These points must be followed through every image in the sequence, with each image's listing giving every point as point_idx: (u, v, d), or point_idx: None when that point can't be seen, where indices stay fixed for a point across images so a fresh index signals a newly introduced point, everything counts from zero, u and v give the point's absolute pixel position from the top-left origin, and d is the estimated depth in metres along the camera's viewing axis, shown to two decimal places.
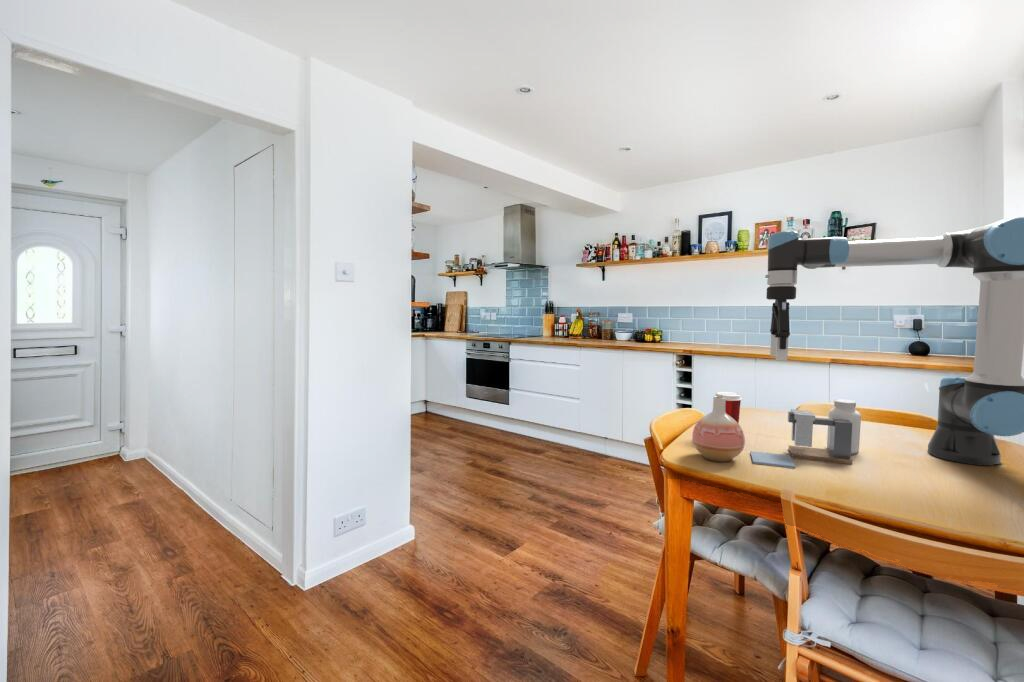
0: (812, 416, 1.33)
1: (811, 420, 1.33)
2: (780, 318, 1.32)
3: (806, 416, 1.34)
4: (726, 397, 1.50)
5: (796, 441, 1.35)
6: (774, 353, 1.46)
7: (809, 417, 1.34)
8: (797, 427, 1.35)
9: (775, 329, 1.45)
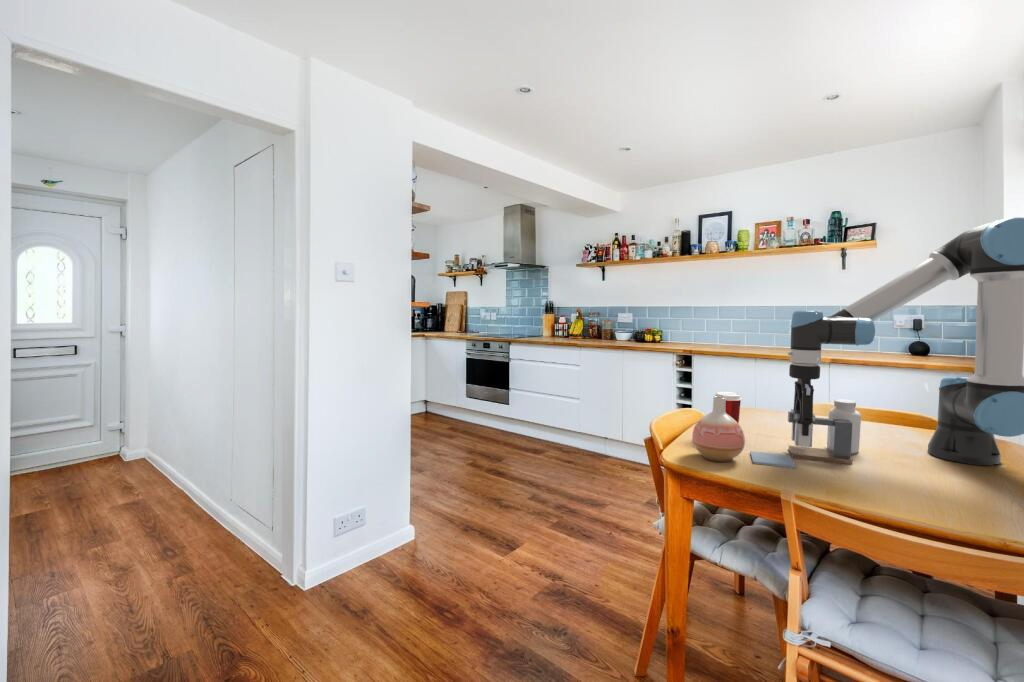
0: None
1: None
2: (803, 405, 1.31)
3: None
4: (726, 397, 1.50)
5: (796, 441, 1.35)
6: None
7: None
8: (797, 427, 1.35)
9: None
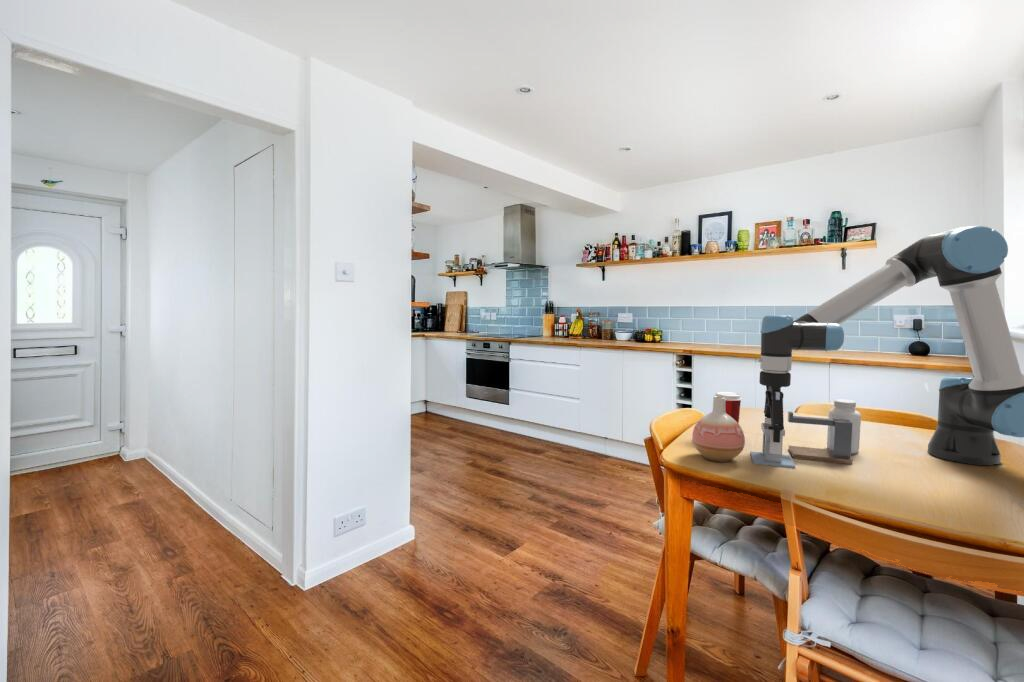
0: (782, 431, 1.28)
1: None
2: (773, 410, 1.25)
3: None
4: (726, 397, 1.50)
5: (766, 457, 1.30)
6: None
7: None
8: (767, 442, 1.30)
9: (769, 412, 1.38)
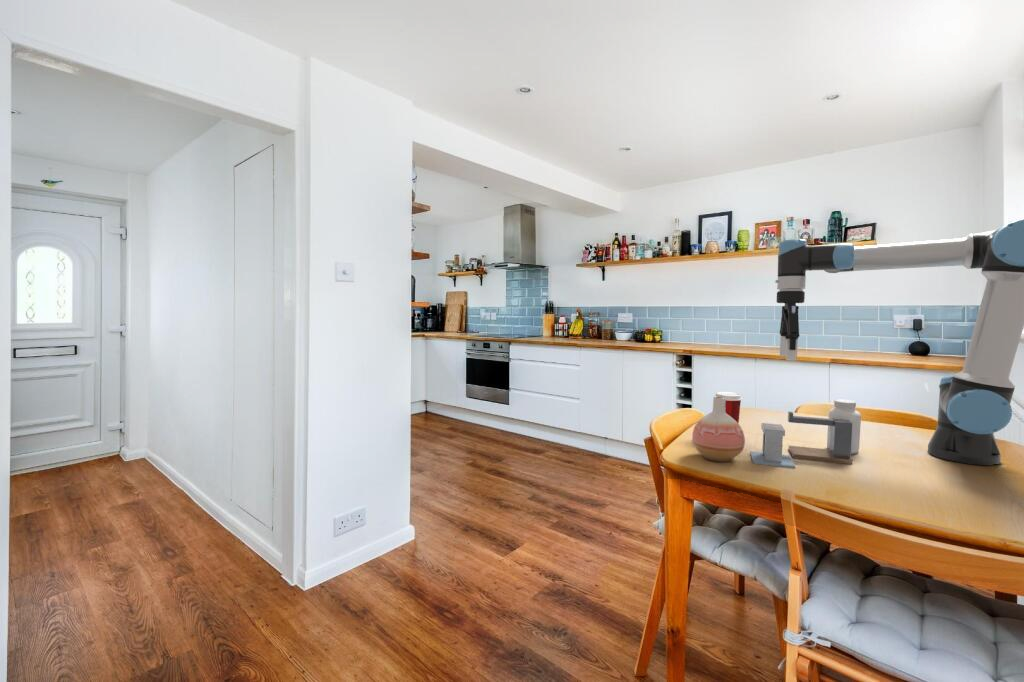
0: (782, 431, 1.28)
1: (781, 435, 1.29)
2: (790, 321, 1.41)
3: (776, 431, 1.29)
4: (726, 397, 1.50)
5: (766, 457, 1.30)
6: (783, 353, 1.55)
7: (779, 432, 1.29)
8: (767, 442, 1.30)
9: (784, 331, 1.54)
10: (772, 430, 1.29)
